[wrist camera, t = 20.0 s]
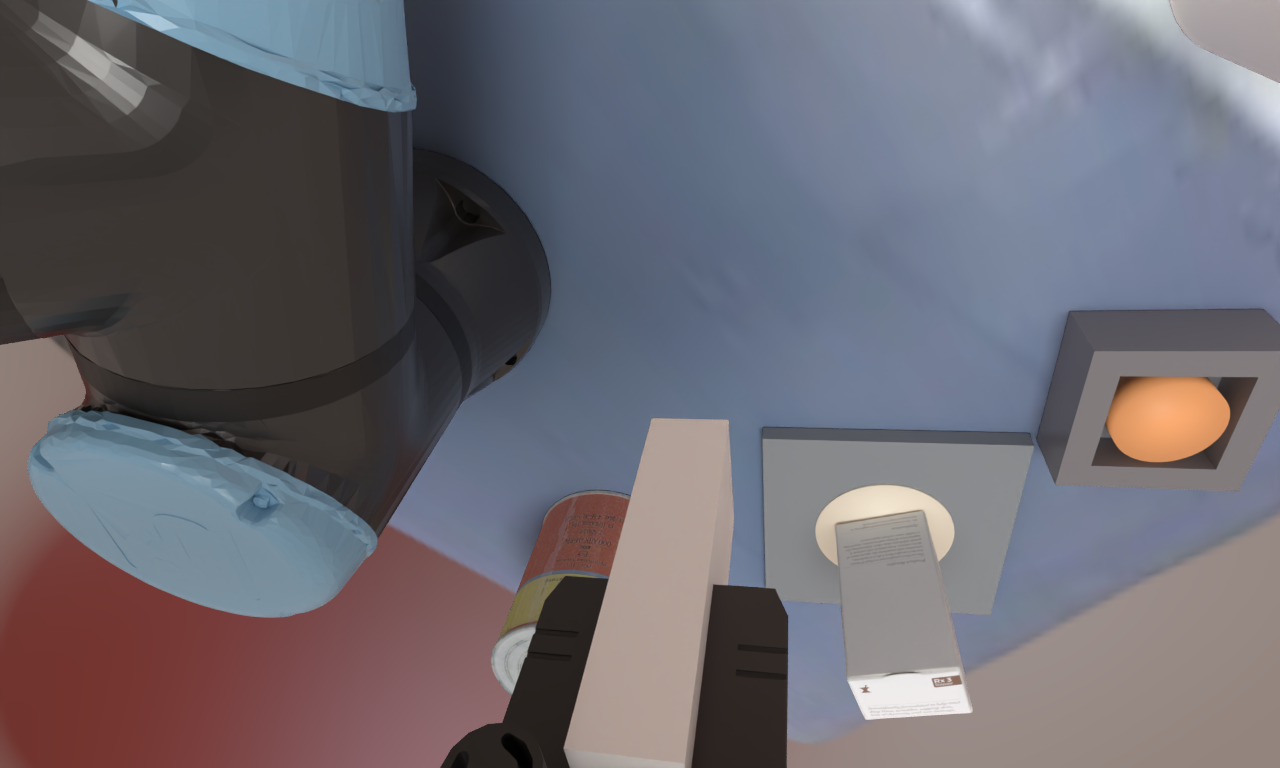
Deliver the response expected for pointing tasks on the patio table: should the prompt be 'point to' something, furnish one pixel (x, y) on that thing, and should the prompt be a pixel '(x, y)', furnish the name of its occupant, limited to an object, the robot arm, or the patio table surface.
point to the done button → (1166, 417)
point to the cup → (1235, 31)
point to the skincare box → (897, 620)
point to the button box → (1160, 347)
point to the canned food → (559, 567)
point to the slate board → (891, 503)
